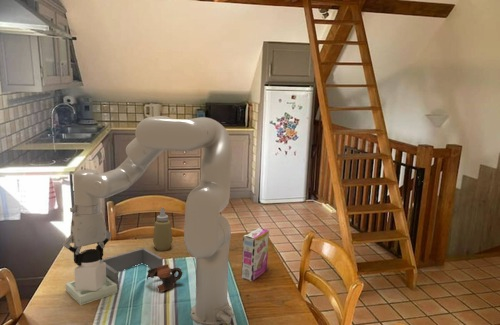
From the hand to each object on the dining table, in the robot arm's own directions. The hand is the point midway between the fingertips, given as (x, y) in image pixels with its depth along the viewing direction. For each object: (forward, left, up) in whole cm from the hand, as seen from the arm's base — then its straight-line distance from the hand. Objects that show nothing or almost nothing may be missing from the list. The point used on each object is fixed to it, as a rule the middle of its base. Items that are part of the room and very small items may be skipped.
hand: (89, 261), depth 129 cm
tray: (-1, 0, -11) cm, 11 cm away
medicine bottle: (-2, +1, -8) cm, 8 cm away
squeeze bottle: (+15, -38, -11) cm, 42 cm away
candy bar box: (-28, -50, -11) cm, 58 cm away
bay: (+1, -16, -11) cm, 19 cm away
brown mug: (-15, -21, -12) cm, 28 cm away
